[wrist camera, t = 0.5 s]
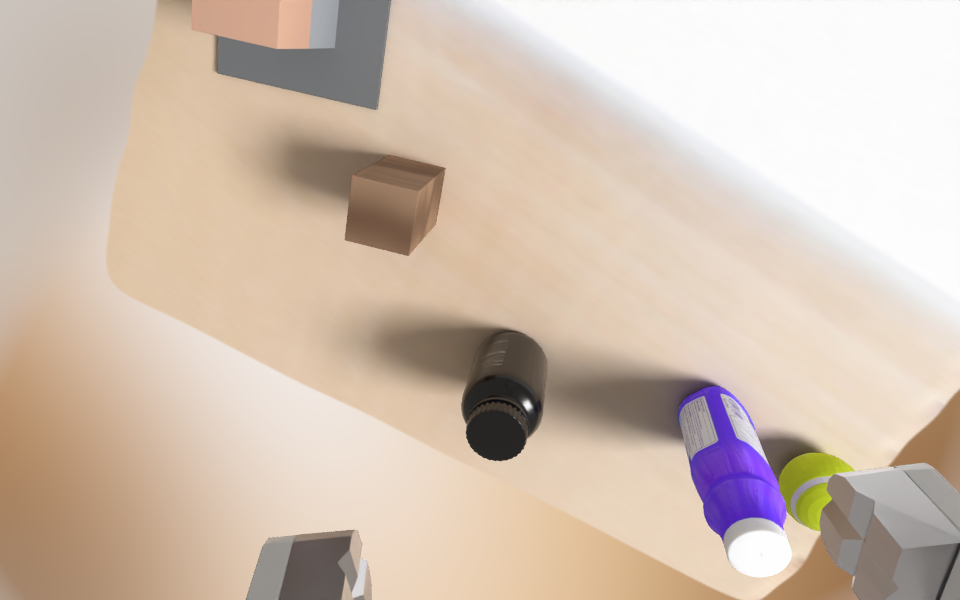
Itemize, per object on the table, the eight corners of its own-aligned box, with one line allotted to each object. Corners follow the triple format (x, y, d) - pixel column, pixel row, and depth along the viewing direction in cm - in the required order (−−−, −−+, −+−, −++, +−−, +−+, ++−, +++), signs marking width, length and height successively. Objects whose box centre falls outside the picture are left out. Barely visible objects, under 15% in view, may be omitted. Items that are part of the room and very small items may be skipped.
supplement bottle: (474, 387, 60) (448, 464, 49) (479, 324, 57) (453, 391, 46) (544, 398, 59) (534, 478, 48) (552, 334, 56) (544, 404, 45)
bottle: (663, 398, 57) (692, 535, 41) (720, 369, 55) (773, 501, 39) (705, 455, 59) (747, 607, 43) (761, 428, 57) (828, 578, 41)
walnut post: (389, 154, 53) (351, 175, 44) (445, 168, 52) (418, 191, 44) (381, 210, 55) (344, 240, 46) (435, 223, 54) (408, 255, 46)
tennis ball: (753, 467, 58) (772, 516, 52) (811, 424, 56) (839, 471, 49) (804, 508, 59) (829, 561, 53) (863, 467, 56) (897, 519, 50)
